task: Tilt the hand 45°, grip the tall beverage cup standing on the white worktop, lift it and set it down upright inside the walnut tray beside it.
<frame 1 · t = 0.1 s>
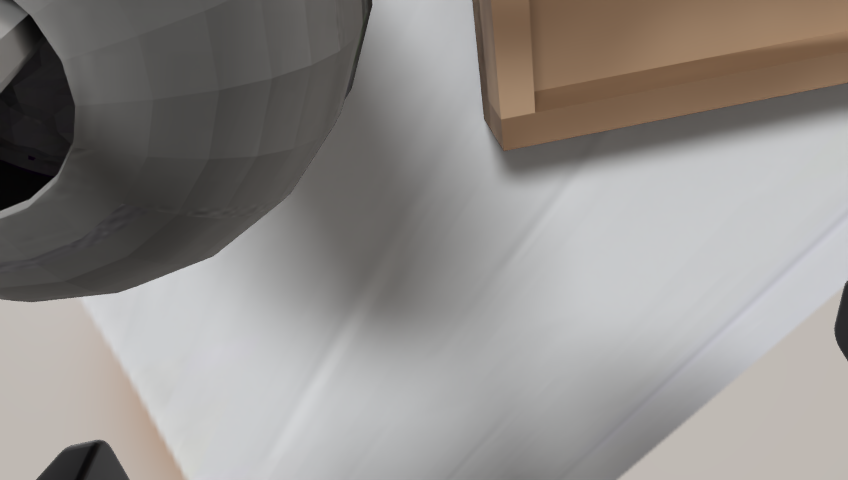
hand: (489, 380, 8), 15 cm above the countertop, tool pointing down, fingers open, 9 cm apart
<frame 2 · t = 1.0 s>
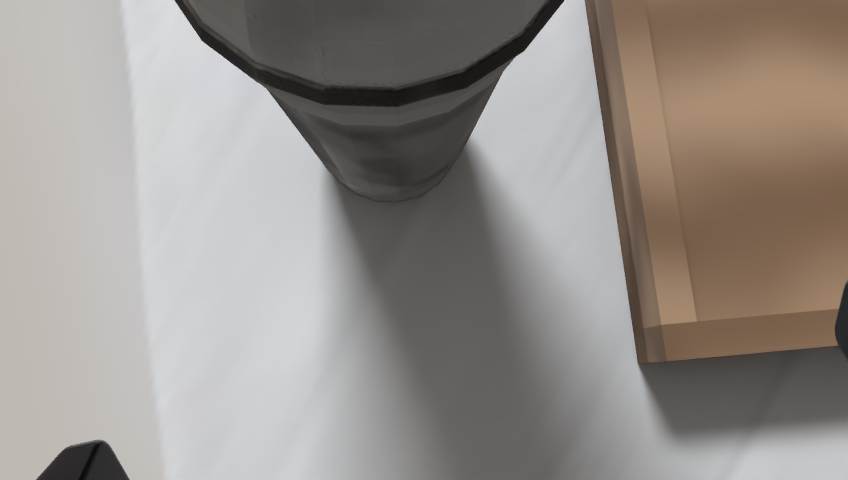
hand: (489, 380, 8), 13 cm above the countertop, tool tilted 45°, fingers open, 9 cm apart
beverage cup: (390, 137, 23), on the countertop
walnut tray: (827, 43, 24), on the countertop
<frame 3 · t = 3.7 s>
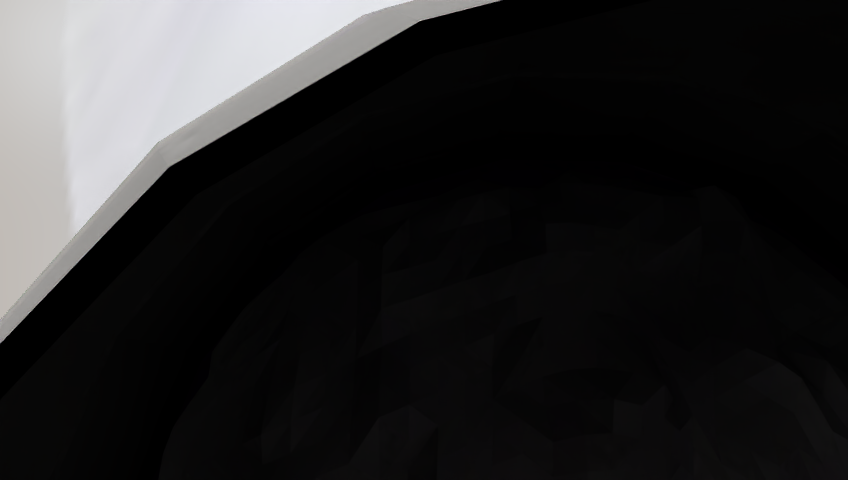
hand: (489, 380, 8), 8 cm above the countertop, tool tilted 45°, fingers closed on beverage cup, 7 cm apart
beverage cup: (466, 446, 16), on the countertop, touching gripper
when the fingers open (10 cm above the countertop, at t = 7.7 s): beverage cup drops 1 cm, resting on walnut tray.
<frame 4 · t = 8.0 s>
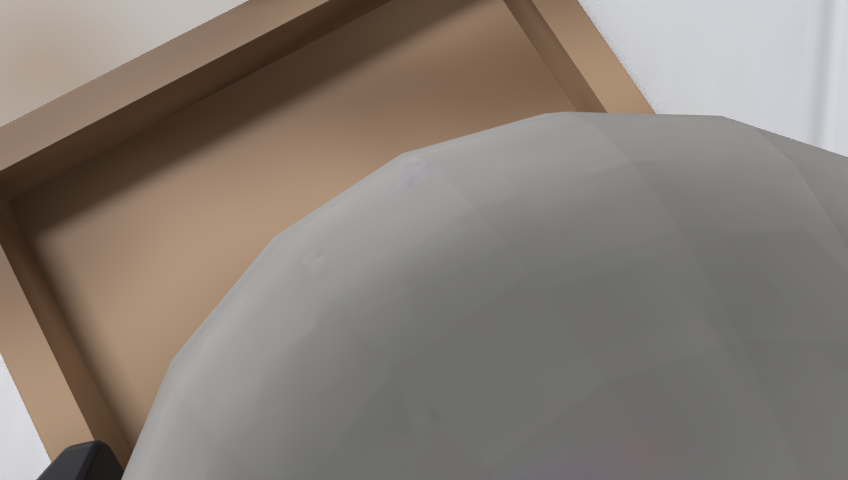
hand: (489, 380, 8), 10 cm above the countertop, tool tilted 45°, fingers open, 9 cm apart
beverage cup: (469, 446, 17), point 1 cm above the countertop, touching walnut tray
walnut tray: (420, 369, 18), on the countertop
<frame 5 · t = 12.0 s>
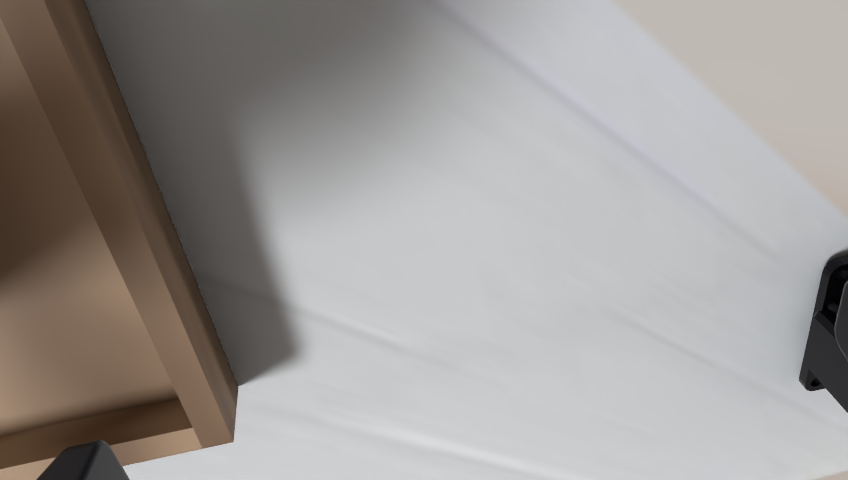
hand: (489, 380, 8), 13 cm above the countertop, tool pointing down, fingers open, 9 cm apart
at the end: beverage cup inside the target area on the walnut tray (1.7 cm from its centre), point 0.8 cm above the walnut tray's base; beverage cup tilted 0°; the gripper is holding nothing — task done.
